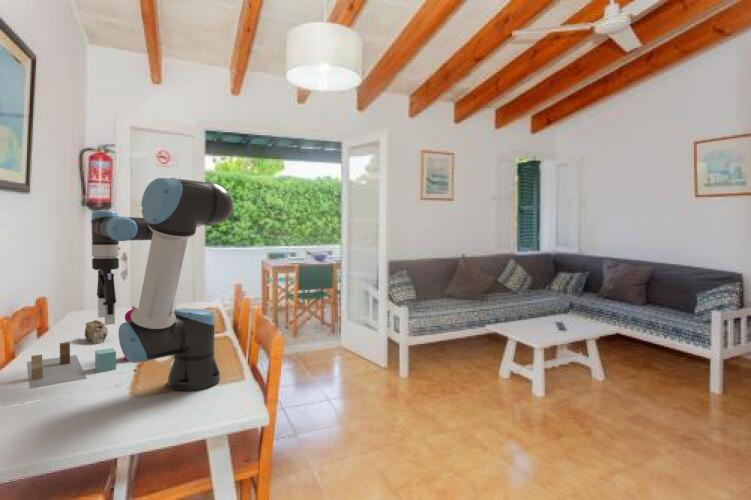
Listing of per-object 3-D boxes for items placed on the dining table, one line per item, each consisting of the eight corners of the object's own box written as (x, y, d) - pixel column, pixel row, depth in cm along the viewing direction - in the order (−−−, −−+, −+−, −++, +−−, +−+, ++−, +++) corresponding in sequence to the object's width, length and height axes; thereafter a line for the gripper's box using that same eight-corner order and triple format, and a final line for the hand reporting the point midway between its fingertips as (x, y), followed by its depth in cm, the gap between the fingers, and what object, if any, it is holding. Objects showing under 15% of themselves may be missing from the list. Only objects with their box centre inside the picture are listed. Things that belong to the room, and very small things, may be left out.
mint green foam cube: (116, 371, 144) (115, 351, 144) (97, 374, 141) (97, 354, 140) (113, 366, 148) (113, 348, 148) (95, 369, 145) (95, 350, 144)
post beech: (42, 378, 134) (42, 356, 134) (31, 380, 132) (31, 357, 132) (42, 376, 136) (41, 354, 136) (31, 377, 134) (31, 355, 134)
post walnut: (70, 363, 148) (69, 343, 148) (60, 365, 147) (60, 344, 146) (69, 361, 150) (69, 341, 150) (60, 363, 149) (59, 343, 148)
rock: (112, 339, 178) (106, 316, 178) (94, 344, 173) (88, 320, 173) (104, 342, 186) (98, 320, 186) (87, 347, 181) (81, 324, 182)
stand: (87, 380, 135) (87, 378, 135) (29, 390, 126) (29, 388, 126) (76, 356, 158) (76, 354, 158) (27, 363, 149) (27, 361, 149)
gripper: (126, 259, 136) (126, 326, 137) (111, 254, 155) (112, 313, 156) (98, 260, 131) (98, 329, 132) (86, 255, 150) (87, 315, 151)
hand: (106, 320), depth 144 cm, fingers open, 13 cm apart
